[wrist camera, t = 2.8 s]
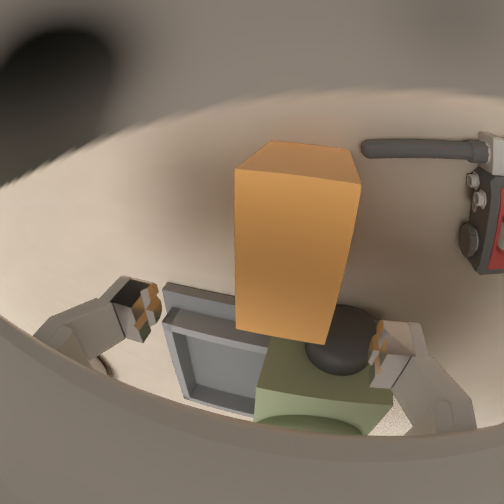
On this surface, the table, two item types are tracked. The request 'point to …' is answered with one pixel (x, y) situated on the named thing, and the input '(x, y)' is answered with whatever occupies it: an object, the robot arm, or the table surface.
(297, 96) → the table surface
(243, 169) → the orange cardboard box
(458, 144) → the walkie-talkie
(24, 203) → the table surface
